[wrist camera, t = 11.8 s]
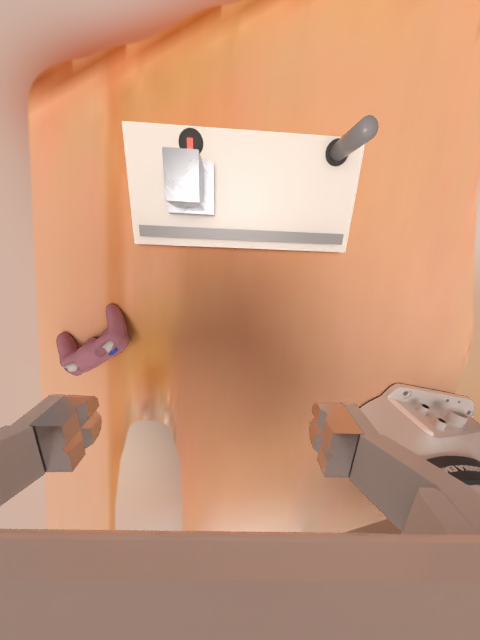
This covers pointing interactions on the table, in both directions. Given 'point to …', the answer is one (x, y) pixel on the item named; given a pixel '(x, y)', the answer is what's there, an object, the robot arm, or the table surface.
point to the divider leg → (188, 181)
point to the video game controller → (94, 345)
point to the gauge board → (250, 186)
